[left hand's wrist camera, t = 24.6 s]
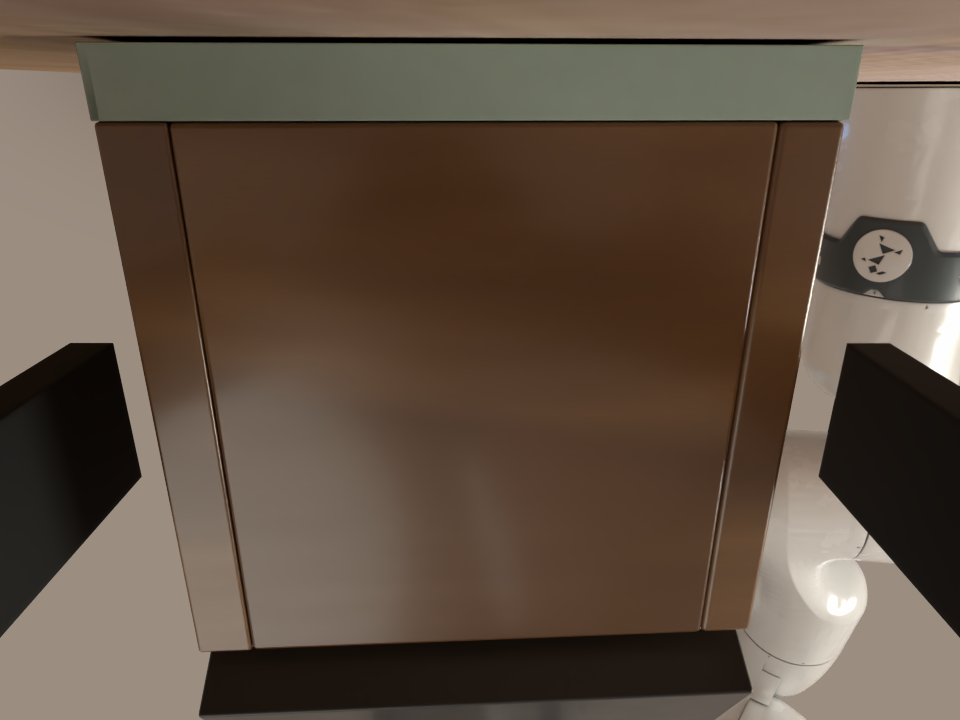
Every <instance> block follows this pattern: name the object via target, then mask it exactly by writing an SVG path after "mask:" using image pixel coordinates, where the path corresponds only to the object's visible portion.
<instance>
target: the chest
mask: <svg viewBox="0 0 960 720" xmlns="http://www.w3.org/2000/svg"><path fill="white" fill-rule="evenodd" d="M75 44H76V49H77V54H78V59H79V64H80V69H81V74H82V79H83V84H84V89H85V94H86V99H87V104H88V109H89V114H90V119H91V121H99V122H97V123H96V124H95V130H96V135H97V140H98V145H99V150H100V155H101V160H102V165H103V170H104V175H105V180H106V185H107V190H108V195H109V200H110V205H111V210H112V215H113V220H114V225H115V231H116V235H117V240H118V246H119V250H120V255H121V260H122V266H123V271H124V276H125V281H126V286H127V291H128V296H129V300H130V306H131V311H132V316H133V321H134V326H135V331H136V336H137V341H138V345H139V351H140V356H141V361H142V366H143V371H144V376H145V381H146V386H147V391H148V396H149V401H150V406H151V411H152V416H153V421H154V426H155V431H156V436H157V441H158V446H159V451H160V456H161V461H162V466H163V471H164V476H165V481H166V486H167V491H168V496H169V501H170V506H171V511H172V516H173V521H174V526H175V531H176V536H177V541H178V546H179V551H180V556H181V561H182V566H183V571H184V576H185V581H186V586H187V591H188V596H189V601H190V606H191V612H192V616H193V622H194V626H195V632H196V637H197V642H198V647H199V651H200V652H216V651H241V650H251V649H252V646H253V647H254V648H255V649H272V648H297V647H322V646H348V645H373V644H398V643H423V642H449V641H474V640H499V639H524V638H550V637H575V636H600V635H625V634H650V633H676V632H697V631H699V629H700V627H701V629H702V630H705V631H718V630H743V629H747V628H748V627H749V625H750V620H751V615H752V610H753V604H754V599H755V594H756V588H757V583H758V578H759V573H760V567H761V562H762V557H763V552H764V546H765V541H766V536H767V530H768V525H769V520H770V515H771V509H772V504H773V499H774V494H775V488H776V483H777V478H778V473H779V467H780V462H781V457H782V451H783V446H784V441H785V436H786V430H787V425H788V420H789V415H790V409H791V404H792V399H793V394H794V388H795V383H796V378H797V372H798V367H799V362H800V357H801V351H802V346H803V341H804V336H805V330H806V325H807V320H808V315H809V309H810V304H811V299H812V293H813V288H814V283H815V278H816V272H817V267H818V262H819V257H820V251H821V246H822V241H823V235H824V230H825V225H826V220H827V214H828V209H829V204H830V199H831V193H832V188H833V183H834V178H835V172H836V167H837V162H838V156H839V151H840V146H841V141H842V135H843V130H844V127H843V123H841V122H839V121H841V120H849V119H850V115H851V110H852V105H853V99H854V94H855V89H856V84H857V79H858V73H859V68H860V63H861V58H862V53H863V47H864V46H863V45H710V44H469V43H227V42H75Z"/></svg>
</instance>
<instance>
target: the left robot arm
mask: <svg viewBox="0 0 960 720" xmlns="http://www.w3.org/2000/svg"><path fill="white" fill-rule="evenodd" d="M818 477H819V478H820V479H821V480H822V481H823V482H824V483H825V485H826V486H827V487H828V488H829V489H830V490H831V491H832V493H833V494H834V495H835V496H836V497H837V498H838V499H839V501H840V502H841V503H842V504H843V505H844V506H845V507H846V509H847V510H848V511H849V512H850V513H851V514H852V515H853V517H854V518H855V519H856V520H857V521H858V522H859V523H860V524H861V526H862V527H863V528H864V529H865V530H866V531H867V532H868V534H869V535H870V536H871V537H872V538H873V539H874V540H875V542H876V543H877V544H878V545H879V546H880V547H881V548H882V550H883V551H884V552H885V553H886V554H887V555H888V556H889V558H890V559H891V560H892V561H893V562H894V563H895V564H896V565H897V567H898V568H899V569H900V570H901V571H902V572H903V573H904V575H905V576H906V577H907V578H908V579H909V580H910V581H911V582H912V584H913V585H914V586H915V587H916V588H917V589H918V591H919V592H920V593H921V594H922V595H923V596H924V597H925V599H926V600H927V601H928V602H929V603H930V604H931V605H932V606H933V608H934V609H935V610H936V611H937V612H938V613H939V614H940V616H941V617H942V618H943V619H944V620H945V621H946V622H947V624H948V625H949V626H950V627H951V628H952V629H953V630H954V632H955V633H956V634H957V635H958V636H959V637H960V386H959V385H957V384H955V383H954V382H952V381H951V380H949V379H947V378H946V377H944V376H942V375H941V374H939V373H938V372H936V371H934V370H933V369H931V368H929V367H928V366H926V365H925V364H923V363H921V362H920V361H918V360H916V359H915V358H913V357H912V356H910V355H908V354H907V353H905V352H903V351H902V350H900V349H899V348H897V347H895V346H894V345H892V344H890V343H847V345H846V350H845V354H844V359H843V364H842V368H841V373H840V378H839V382H838V387H837V392H836V396H835V401H834V406H833V411H832V415H831V420H830V425H829V429H828V434H827V439H826V443H825V448H824V453H823V457H822V462H821V467H820V471H819V476H818ZM140 478H141V471H140V467H139V462H138V457H137V453H136V448H135V443H134V439H133V434H132V429H131V425H130V420H129V415H128V411H127V406H126V401H125V397H124V392H123V387H122V383H121V378H120V373H119V369H118V364H117V359H116V354H115V350H114V345H113V343H70V344H68V345H66V346H65V347H63V348H62V349H60V350H58V351H57V352H55V353H53V354H52V355H50V356H48V357H47V358H45V359H44V360H42V361H40V362H39V363H37V364H35V365H34V366H32V367H31V368H29V369H27V370H26V371H24V372H23V373H21V374H19V375H18V376H16V377H14V378H13V379H11V380H10V381H8V382H6V383H5V384H3V385H1V386H0V637H1V636H2V635H3V634H4V633H5V632H6V630H7V629H8V628H9V627H10V626H11V625H12V624H13V622H14V621H15V620H16V619H17V618H18V617H19V616H20V614H21V613H22V612H23V611H24V610H25V609H26V608H27V606H28V605H29V604H30V603H31V602H32V601H33V600H34V599H35V597H36V596H37V595H38V594H39V593H40V592H41V591H42V589H43V588H44V587H45V586H46V585H47V584H48V583H49V581H50V580H51V579H52V578H53V577H54V576H55V575H56V573H57V572H58V571H59V570H60V569H61V568H62V567H63V565H64V564H65V563H66V562H67V561H68V560H69V559H70V558H71V556H72V555H73V554H74V553H75V552H76V551H77V550H78V548H79V547H80V546H81V545H82V544H83V543H84V542H85V540H86V539H87V538H88V537H89V536H90V535H91V534H92V532H93V531H94V530H95V529H96V528H97V527H98V526H99V524H100V523H101V522H102V521H103V520H104V519H105V518H106V516H107V515H108V514H109V513H110V512H111V511H112V510H113V509H114V507H115V506H116V505H117V504H118V503H119V502H120V501H121V499H122V498H123V497H124V496H125V495H126V494H127V493H128V491H129V490H130V489H131V488H132V487H133V486H134V485H135V483H136V482H137V481H138V480H139V479H140Z"/></svg>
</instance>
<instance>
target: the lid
mask: <svg viewBox="0 0 960 720" xmlns="http://www.w3.org/2000/svg"><path fill="white" fill-rule="evenodd" d="M752 692H753V688H752V685H751V681H750V678H749V674H748V670H747V667H746V663H745V659H744V656H743V652H742V649H741V645H740V641H739V638H738V634H737V630H718V631H705V630H702V629H699V631H697V632H676V633H650V634H625V635H600V636H575V637H550V638H524V639H499V640H474V641H449V642H423V643H398V644H373V645H348V646H322V647H297V648H272V649H255V648H254V647H253V646H252V649H251V650H241V651H216V652H211V654H210V659H209V664H208V669H207V674H206V680H205V685H204V690H203V695H202V700H201V705H200V710H199V717H200V718H202V719H203V720H715V719H717V718H718V717H719V716H721V715H722V714H723V713H725V712H726V711H728V710H729V709H730V708H732V707H733V706H734V705H736V704H737V703H739V702H740V701H741V700H743V699H744V698H745V697H747V696H748V695H750V694H751V693H752Z"/></svg>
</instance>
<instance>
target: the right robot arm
mask: <svg viewBox="0 0 960 720" xmlns="http://www.w3.org/2000/svg"><path fill="white" fill-rule="evenodd" d="M839 122H841V123H843V127H844V130H843V135H842V141H841V146H840V151H839V156H838V162H837V167H836V172H835V178H834V183H833V188H832V193H831V199H830V204H829V209H828V214H827V220H826V225H825V230H824V235H823V241H822V246H821V251H820V257H819V262H818V267H817V272H816V278H815V283H814V288H813V293H812V299H811V304H810V309H809V315H808V320H807V325H806V330H805V336H804V341H803V346H802V351H801V354H802V360H803V365H804V367H805V370H806V372H807V374H808V376H809V377H810V379H811V380H812V381H813V382H814V383H815V384H816V385H817V386H818V387H819V388H820V389H821V390H823V391H824V392H825V393H827V394H828V395H830V396H831V397H833V398H834V399H835V396H836V392H837V387H838V382H839V378H840V373H841V368H842V364H843V359H844V354H845V350H846V345H847V343H890V344H892V345H894V346H895V347H897V348H899V349H900V350H902V351H903V352H905V353H907V354H908V355H910V356H912V357H913V358H915V359H916V360H918V361H920V362H921V363H923V364H925V365H926V366H928V367H929V368H931V369H933V370H934V371H936V372H938V373H939V374H941V375H942V376H944V377H946V378H947V379H949V380H951V381H952V382H954V383H955V384H957V385H959V383H960V86H907V87H905V86H904V87H903V86H901V87H856V89H855V94H854V99H853V105H852V110H851V115H850V119H849V120H841V121H839ZM827 434H828V432H822V431H805V430H789V429H787V430H786V436H785V441H784V446H783V451H782V457H781V462H780V467H779V473H778V478H777V483H776V488H775V494H774V499H773V504H772V509H771V515H770V520H769V525H768V530H767V536H766V541H765V546H764V552H763V557H762V562H761V567H760V573H759V578H758V583H757V588H756V594H755V599H754V604H753V610H752V615H751V620H750V625H749V627H748V628H747V629H743V630H737V634H738V638H739V641H740V645H741V649H742V652H743V656H744V659H745V663H746V667H747V670H748V674H749V678H750V681H751V685H752V688H753V692H752V693H751V694H750V695H748V696H747V697H745V698H744V699H743V700H741V701H740V702H739V703H737V704H736V705H734V706H733V707H732V708H730V709H729V710H728V711H726V712H725V713H723V714H722V715H721V716H719V717H718V718H717V719H715V720H806V719H805V718H804V717H803V716H802V715H800V714H799V713H798V712H796V711H795V710H794V709H792V708H791V707H790V706H788V705H787V704H786V703H785V702H783V701H782V700H780V699H779V698H777V697H776V696H792V695H795V694H798V693H800V692H802V691H804V690H805V689H807V688H808V687H810V686H811V685H812V684H814V683H815V682H816V681H817V680H818V679H819V678H821V677H822V676H823V675H824V673H825V672H826V671H827V670H828V669H829V668H830V666H831V665H832V664H833V663H834V661H835V660H836V659H837V657H838V656H839V654H840V652H841V651H842V649H843V647H844V646H845V644H846V642H847V640H848V639H849V637H850V635H851V633H852V632H853V630H854V628H855V627H856V625H857V623H858V621H859V620H860V618H861V616H862V615H863V613H864V611H865V608H866V605H867V585H866V581H865V577H864V575H863V572H862V570H861V568H860V567H859V565H858V564H857V562H856V561H855V560H857V561H869V562H881V563H893V564H895V563H894V562H893V561H892V560H891V559H890V558H889V556H888V555H887V554H886V553H885V552H884V551H883V550H882V548H881V547H880V546H879V545H878V544H877V543H876V542H875V540H874V539H873V538H872V537H871V536H870V535H869V534H868V532H867V531H866V530H865V529H864V528H863V527H862V526H861V524H860V523H859V522H858V521H857V520H856V519H855V518H854V517H853V515H852V514H851V513H850V512H849V511H848V510H847V509H846V507H845V506H844V505H843V504H842V503H841V502H840V501H839V499H838V498H837V497H836V496H835V495H834V494H833V493H832V491H831V490H830V489H829V488H828V487H827V486H826V485H825V483H824V482H823V481H822V480H821V479H820V478H819V477H818V476H819V471H820V467H821V462H822V457H823V453H824V448H825V443H826V439H827ZM775 695H776V696H775Z"/></svg>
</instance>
